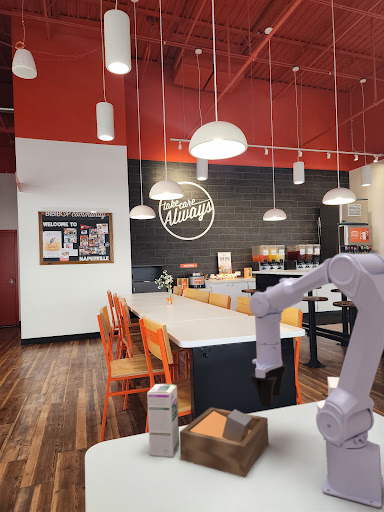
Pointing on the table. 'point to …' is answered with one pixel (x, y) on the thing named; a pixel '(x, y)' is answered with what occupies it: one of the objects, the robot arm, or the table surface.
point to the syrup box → (163, 420)
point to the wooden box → (224, 446)
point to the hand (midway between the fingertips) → (270, 400)
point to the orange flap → (212, 425)
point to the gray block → (236, 426)
